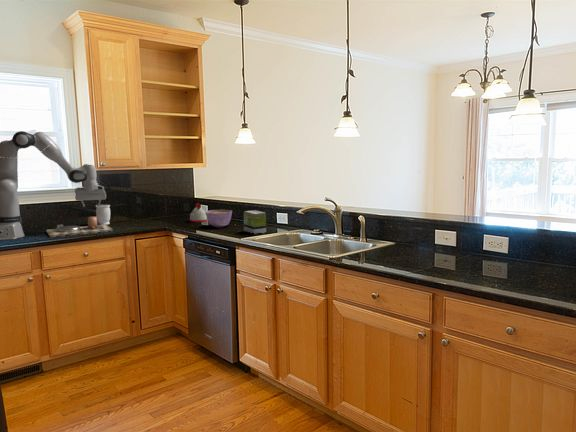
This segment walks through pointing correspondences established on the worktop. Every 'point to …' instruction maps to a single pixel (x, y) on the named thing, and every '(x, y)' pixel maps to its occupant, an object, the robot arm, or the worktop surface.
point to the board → (80, 231)
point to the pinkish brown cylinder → (92, 222)
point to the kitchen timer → (198, 214)
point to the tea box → (254, 221)
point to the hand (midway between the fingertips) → (91, 206)
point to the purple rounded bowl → (219, 217)
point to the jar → (103, 214)
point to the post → (67, 228)
